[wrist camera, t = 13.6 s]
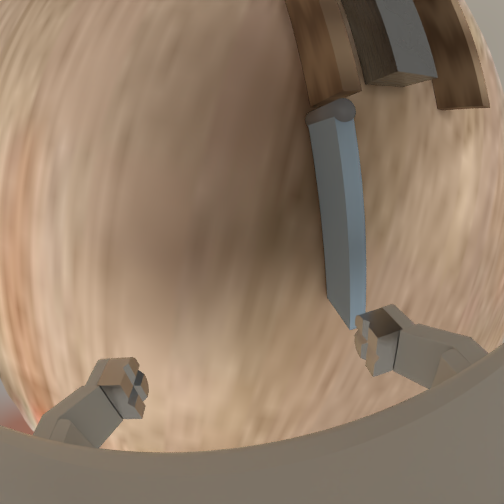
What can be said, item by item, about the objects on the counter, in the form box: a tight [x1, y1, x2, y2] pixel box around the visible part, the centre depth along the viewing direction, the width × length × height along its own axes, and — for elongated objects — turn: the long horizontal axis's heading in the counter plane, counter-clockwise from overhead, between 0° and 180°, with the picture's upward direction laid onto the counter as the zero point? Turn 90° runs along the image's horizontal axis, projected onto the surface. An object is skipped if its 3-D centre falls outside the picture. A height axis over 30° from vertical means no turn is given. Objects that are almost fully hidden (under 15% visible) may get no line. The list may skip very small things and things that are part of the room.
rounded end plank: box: [305, 98, 366, 330], centre depth 18 cm, size 1×15×6 cm, turn 10°
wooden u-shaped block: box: [285, 0, 490, 110], centre depth 13 cm, size 13×16×6 cm
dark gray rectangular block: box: [341, 0, 438, 87], centre depth 14 cm, size 9×4×5 cm, turn 10°
